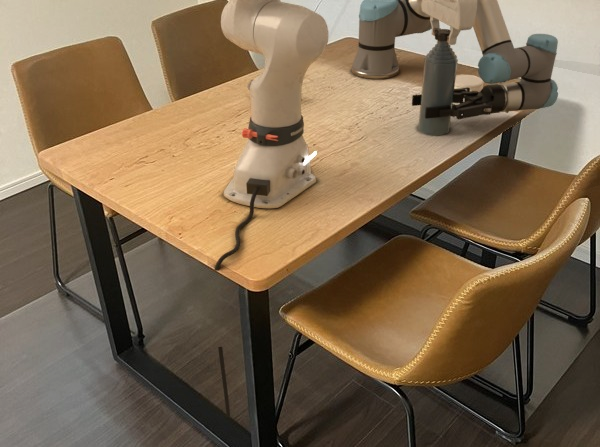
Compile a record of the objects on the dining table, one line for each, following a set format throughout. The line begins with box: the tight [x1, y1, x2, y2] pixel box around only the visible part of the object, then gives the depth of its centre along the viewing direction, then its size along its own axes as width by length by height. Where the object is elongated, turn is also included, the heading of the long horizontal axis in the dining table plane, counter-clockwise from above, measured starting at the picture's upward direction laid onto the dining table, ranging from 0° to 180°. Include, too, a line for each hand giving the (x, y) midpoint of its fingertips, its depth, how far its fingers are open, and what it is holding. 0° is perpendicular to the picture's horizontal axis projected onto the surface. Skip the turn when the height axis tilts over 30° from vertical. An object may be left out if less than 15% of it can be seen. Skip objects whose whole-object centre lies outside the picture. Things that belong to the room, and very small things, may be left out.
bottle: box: [417, 40, 459, 136], centre depth 158 cm, size 8×8×25 cm
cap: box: [434, 28, 451, 41], centre depth 152 cm, size 4×4×2 cm
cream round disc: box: [454, 74, 485, 92], centre depth 187 cm, size 10×10×4 cm
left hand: (443, 39), depth 152 cm, fingers open, 6 cm apart
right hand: (419, 106), depth 160 cm, fingers closed on bottle, 8 cm apart
